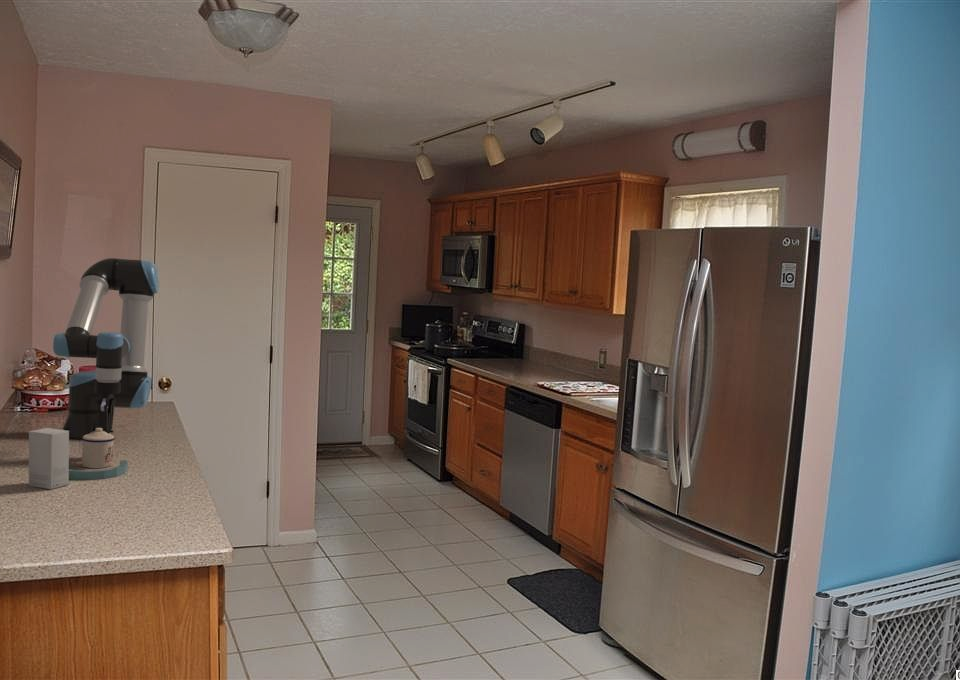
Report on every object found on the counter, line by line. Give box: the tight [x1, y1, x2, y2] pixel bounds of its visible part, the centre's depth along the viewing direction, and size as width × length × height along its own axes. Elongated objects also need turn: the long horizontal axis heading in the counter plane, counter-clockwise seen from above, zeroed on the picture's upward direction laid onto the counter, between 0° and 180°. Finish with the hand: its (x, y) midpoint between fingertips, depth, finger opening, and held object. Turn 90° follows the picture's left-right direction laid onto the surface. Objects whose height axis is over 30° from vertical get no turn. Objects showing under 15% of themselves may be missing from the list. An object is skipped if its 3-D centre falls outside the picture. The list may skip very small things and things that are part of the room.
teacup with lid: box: [81, 428, 115, 469], centre depth 246 cm, size 12×9×12 cm
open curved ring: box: [69, 458, 129, 481], centre depth 236 cm, size 16×20×2 cm
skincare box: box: [28, 427, 70, 490], centre depth 219 cm, size 8×7×16 cm
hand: (104, 453), depth 254 cm, fingers closed
